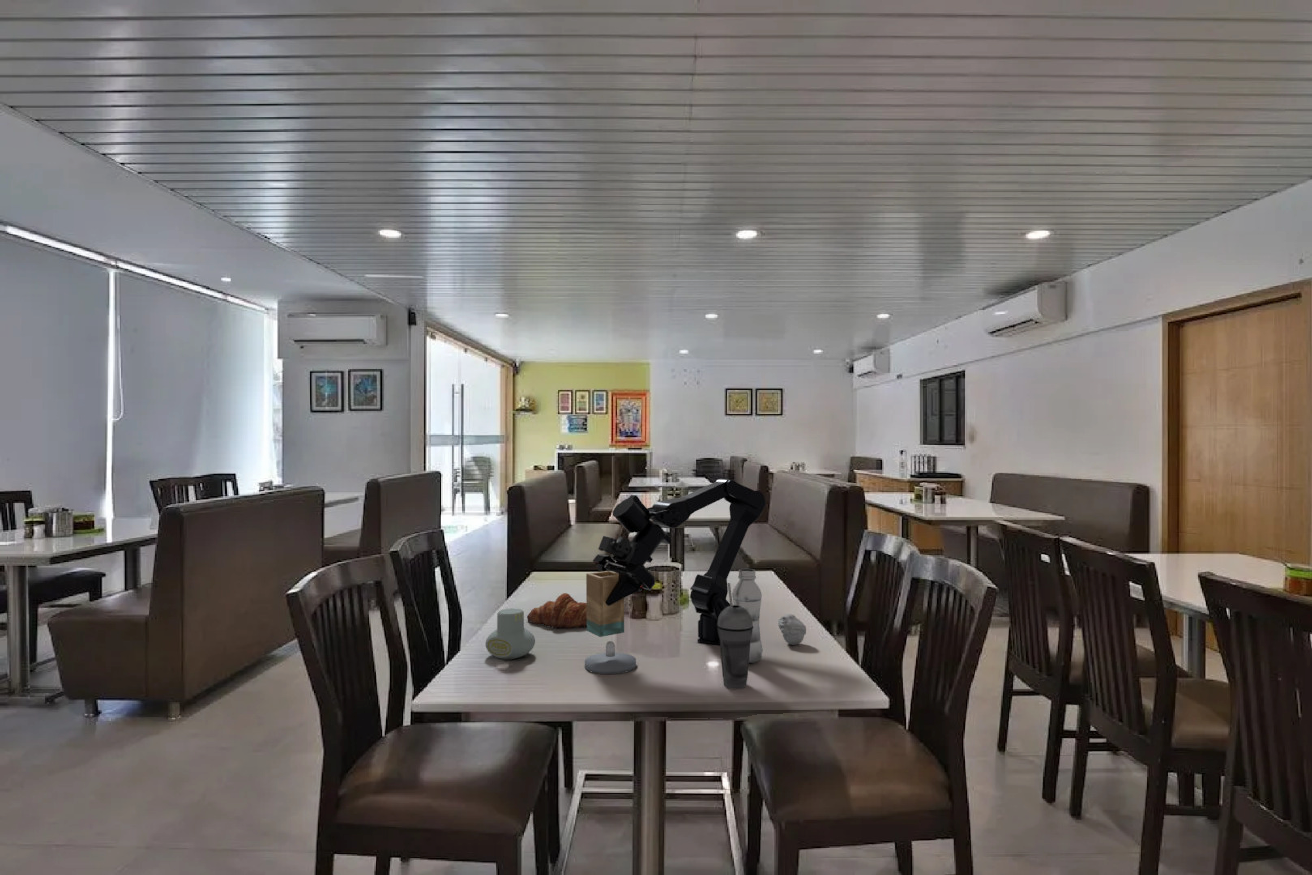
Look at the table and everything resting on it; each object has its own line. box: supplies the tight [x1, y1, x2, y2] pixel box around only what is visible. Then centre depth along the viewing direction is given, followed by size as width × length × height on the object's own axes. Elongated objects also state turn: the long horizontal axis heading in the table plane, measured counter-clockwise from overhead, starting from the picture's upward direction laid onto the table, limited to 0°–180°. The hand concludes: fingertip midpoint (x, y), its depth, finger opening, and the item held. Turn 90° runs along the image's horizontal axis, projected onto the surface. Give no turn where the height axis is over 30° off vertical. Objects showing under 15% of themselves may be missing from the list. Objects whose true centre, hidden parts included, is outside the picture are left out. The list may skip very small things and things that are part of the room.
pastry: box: [526, 592, 587, 629], centre depth 180 cm, size 17×15×8 cm
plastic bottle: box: [731, 568, 763, 664], centre depth 147 cm, size 6×7×20 cm
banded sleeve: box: [585, 571, 625, 638], centre depth 146 cm, size 6×6×12 cm
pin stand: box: [584, 640, 637, 675], centre depth 144 cm, size 11×11×5 cm
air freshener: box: [485, 608, 536, 661], centre depth 152 cm, size 11×8×10 cm
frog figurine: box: [777, 613, 807, 646], centre depth 160 cm, size 6×7×7 cm
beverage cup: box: [717, 582, 753, 690], centre depth 133 cm, size 7×7×20 cm
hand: (599, 601), depth 146 cm, fingers closed on banded sleeve, 6 cm apart
